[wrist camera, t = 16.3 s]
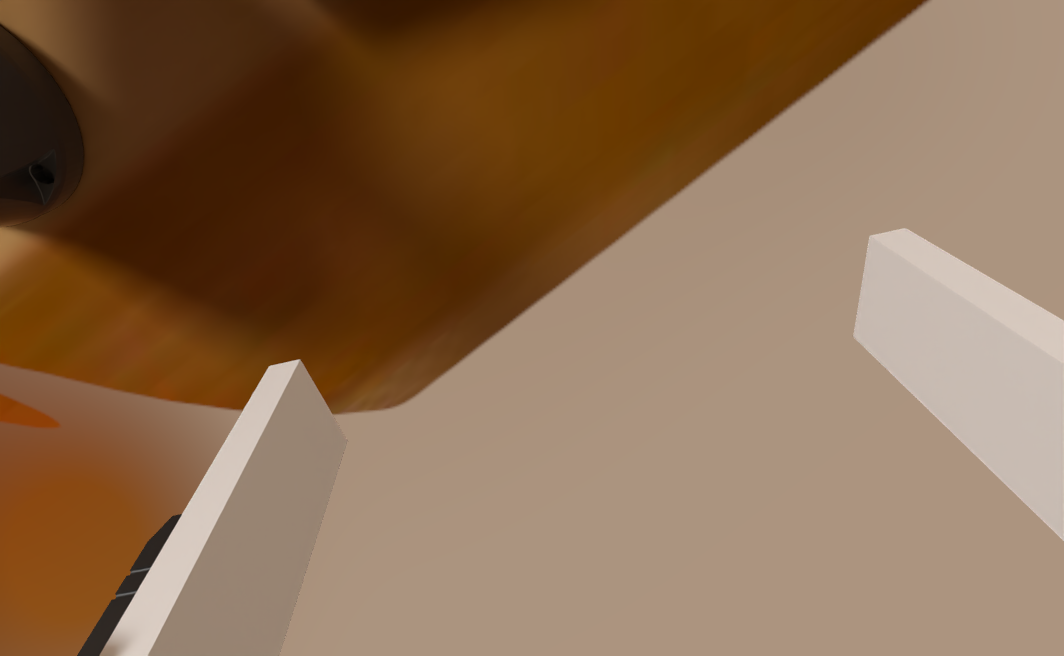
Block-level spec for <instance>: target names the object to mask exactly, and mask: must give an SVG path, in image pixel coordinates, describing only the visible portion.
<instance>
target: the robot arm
mask: <svg viewBox="0 0 1064 656" xmlns="http://www.w3.org/2000/svg"><path fill="white" fill-rule="evenodd" d="M82 169H83V144H82V139H81V134H80V130H79V127H78V124H77V121H76V119H75V116H74V114H73V112H72V110H71V107H70V105H69V103H68V102H67V100H66V98H65V96H64V94H63V93H62V91H61V90H60V88H59V87H58V85H57V84H56V82H55V81H54V79H53V78H52V77H51V75H50V74H49V73H48V72H47V70H46V69H45V68H44V67H43V66H42V64H41V63H40V62H39V61H38V60H37V59H36V58H35V57H34V56H33V54H32V53H31V52H30V51H29V50H28V49H27V48H25V47H24V46H23V45H22V44H21V43H20V42H19V41H18V40H17V39H16V38H14V37H13V36H12V35H11V34H10V33H8V32H7V31H6V30H5V29H3V28H2V27H1V26H0V227H7V226H13V225H17V224H21V223H24V222H27V221H30V220H32V219H35V218H37V217H39V216H41V215H43V214H45V213H47V212H49V211H51V210H52V209H54V208H56V207H58V206H59V205H61V204H62V203H63V202H65V201H66V200H67V199H68V198H69V197H70V196H71V194H72V193H73V192H74V190H75V188H76V187H77V185H78V183H79V180H80V177H81V174H82ZM854 338H855V339H856V340H857V341H858V342H859V343H860V344H861V345H862V346H863V347H864V348H865V349H867V351H868V352H869V353H870V354H871V355H873V356H874V357H875V358H876V359H877V360H878V361H879V362H880V363H881V364H882V365H883V366H884V367H885V368H886V369H887V370H888V371H889V372H890V373H891V374H892V375H893V376H894V377H895V378H896V379H897V380H898V381H899V382H900V383H901V384H902V385H904V387H906V388H907V389H908V390H909V391H910V392H911V393H912V394H913V395H914V396H915V397H916V398H917V399H918V400H919V401H920V402H921V403H922V404H923V405H924V406H925V407H926V408H928V410H929V411H930V412H931V413H932V414H933V415H934V416H935V417H936V418H938V419H939V420H940V421H941V422H942V423H943V424H944V425H945V426H946V427H947V428H948V429H949V430H950V431H951V432H952V433H953V434H954V435H955V436H956V437H957V438H958V439H959V440H960V441H961V442H962V443H963V444H964V445H965V446H966V447H967V448H969V450H970V451H971V452H973V453H974V454H975V455H976V456H977V457H978V458H979V459H980V460H981V461H982V462H983V463H984V464H985V465H986V466H987V467H988V468H989V469H990V470H991V471H992V472H993V473H994V474H995V475H996V476H997V477H998V478H999V479H1000V480H1001V481H1002V482H1003V483H1004V484H1006V485H1007V486H1008V487H1009V488H1010V489H1011V490H1012V491H1013V492H1014V493H1015V494H1016V495H1017V496H1018V497H1019V498H1020V499H1021V500H1022V501H1023V502H1024V503H1025V504H1026V505H1027V506H1028V507H1029V508H1030V509H1031V510H1032V511H1033V512H1034V513H1035V514H1036V515H1037V516H1039V517H1040V518H1041V519H1042V520H1043V521H1044V522H1045V523H1046V524H1047V525H1048V526H1049V527H1050V528H1051V529H1052V530H1053V531H1054V532H1055V533H1056V534H1057V535H1058V536H1059V537H1060V538H1061V539H1062V540H1063V541H1064V321H1063V320H1062V319H1060V318H1058V317H1057V316H1055V315H1053V314H1052V313H1050V312H1048V311H1046V310H1045V309H1043V308H1041V307H1040V306H1038V305H1036V304H1034V303H1033V302H1031V301H1029V300H1028V299H1026V298H1024V297H1023V296H1021V295H1019V294H1017V293H1016V292H1014V291H1012V290H1010V289H1009V288H1007V287H1005V286H1004V285H1002V284H1000V283H999V282H997V281H995V280H993V279H992V278H990V277H988V276H986V275H985V274H983V273H981V272H980V271H978V270H976V269H975V268H973V267H971V266H969V265H968V264H966V263H964V262H962V261H961V260H959V259H957V258H956V257H954V256H952V255H951V254H949V253H947V252H945V251H943V250H942V249H940V248H939V247H937V246H935V245H933V244H932V243H930V242H928V241H927V240H925V239H923V238H922V237H920V236H918V235H916V234H915V233H913V232H911V231H910V230H908V229H906V228H903V229H899V230H894V231H890V232H885V233H880V234H876V235H871V236H870V237H869V243H868V249H867V255H866V262H865V268H864V274H863V280H862V286H861V292H860V299H859V305H858V311H857V317H856V324H855V330H854ZM346 444H347V439H346V437H345V436H344V434H343V432H342V430H341V429H340V427H339V425H338V424H337V422H336V420H335V418H334V417H333V415H332V413H331V411H330V410H329V408H328V406H327V405H326V403H325V401H324V399H323V398H322V396H321V394H320V392H319V391H318V389H317V387H316V386H315V384H314V382H313V380H312V379H311V377H310V375H309V374H308V372H307V370H306V368H305V367H304V365H303V363H302V362H301V360H300V359H299V360H295V361H290V362H286V363H281V364H276V365H272V366H269V367H268V369H267V371H266V373H265V374H264V376H263V378H262V379H261V381H260V383H259V384H258V386H257V388H256V390H255V391H254V393H253V395H252V396H251V398H250V400H249V401H248V403H247V405H246V407H245V408H244V410H243V412H242V413H241V415H240V417H239V419H238V420H237V422H236V424H235V425H234V427H233V429H232V431H231V432H230V434H229V436H228V437H227V439H226V441H225V442H224V444H223V446H222V448H221V449H220V451H219V453H218V454H217V456H216V458H215V459H214V461H213V463H212V465H211V466H210V468H209V470H208V471H207V473H206V475H205V477H204V478H203V480H202V482H201V483H200V485H199V487H198V488H197V490H196V492H195V494H194V495H193V497H192V499H191V500H190V502H189V504H188V506H187V507H186V509H185V511H184V512H183V514H180V515H176V516H172V517H171V518H170V519H169V520H168V521H167V522H166V523H165V524H164V526H163V527H162V528H161V529H160V530H159V531H158V532H157V533H156V534H155V535H154V536H153V537H152V538H151V539H150V540H149V541H148V542H147V544H146V545H145V547H144V549H143V550H142V552H141V553H140V555H139V557H138V558H137V560H136V562H135V563H134V565H133V566H132V568H131V570H130V571H131V574H130V575H129V576H126V578H125V579H124V581H123V582H122V584H121V586H120V587H119V589H118V591H117V592H116V599H114V600H111V602H110V604H109V605H108V607H107V608H106V610H105V612H104V613H103V615H102V617H101V618H100V620H99V621H98V623H97V624H96V626H95V628H94V629H93V631H92V633H91V634H90V636H89V637H88V639H87V641H86V642H85V644H84V646H83V647H82V649H81V650H80V652H79V653H78V655H77V656H279V655H280V652H281V648H282V645H283V642H284V639H285V636H286V633H287V630H288V626H289V623H290V620H291V617H292V614H293V611H294V607H295V605H296V601H297V598H298V595H299V592H300V589H301V586H302V583H303V579H304V576H305V573H306V570H307V567H308V564H309V561H310V557H311V554H312V551H313V548H314V545H315V542H316V538H317V535H318V532H319V529H320V526H321V523H322V520H323V517H324V513H325V510H326V507H327V504H328V501H329V498H330V494H331V491H332V488H333V485H334V482H335V479H336V475H337V472H338V469H339V466H340V463H341V460H342V457H343V454H344V450H345V447H346Z"/></svg>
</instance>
